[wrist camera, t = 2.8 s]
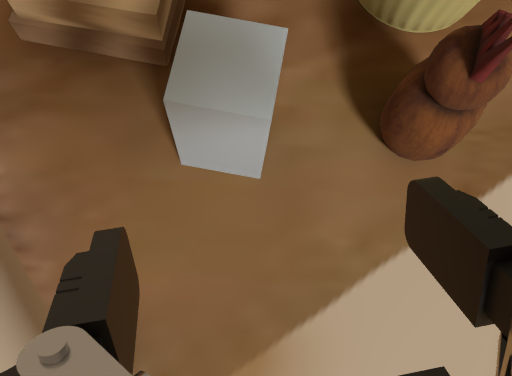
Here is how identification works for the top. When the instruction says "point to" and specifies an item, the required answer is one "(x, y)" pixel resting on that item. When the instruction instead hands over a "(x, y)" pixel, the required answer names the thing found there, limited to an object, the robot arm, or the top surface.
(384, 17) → the potted cactus
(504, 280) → the robot arm
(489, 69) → the wooden figurine
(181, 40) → the block
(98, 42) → the tower base
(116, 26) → the tower top
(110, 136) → the top surface
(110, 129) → the top surface
